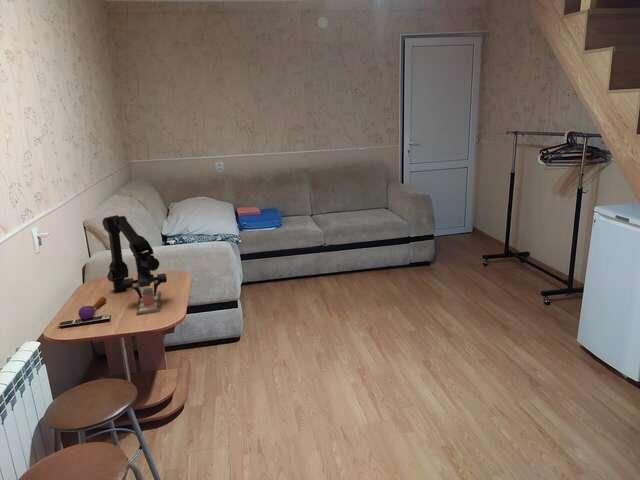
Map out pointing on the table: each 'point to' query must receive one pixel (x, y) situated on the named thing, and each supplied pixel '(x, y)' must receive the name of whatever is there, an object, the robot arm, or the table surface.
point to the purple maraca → (90, 309)
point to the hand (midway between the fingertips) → (148, 297)
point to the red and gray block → (148, 297)
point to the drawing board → (151, 308)
